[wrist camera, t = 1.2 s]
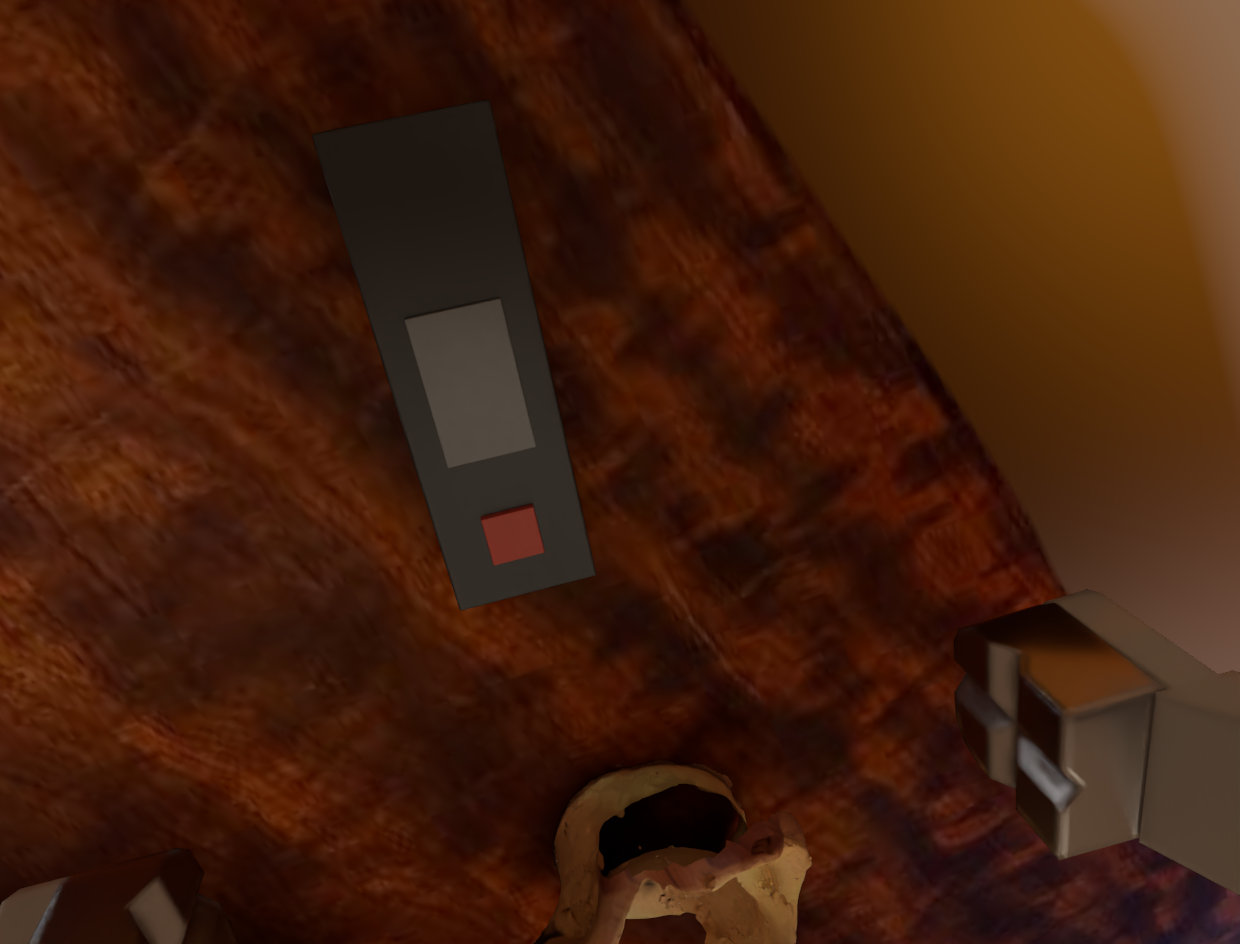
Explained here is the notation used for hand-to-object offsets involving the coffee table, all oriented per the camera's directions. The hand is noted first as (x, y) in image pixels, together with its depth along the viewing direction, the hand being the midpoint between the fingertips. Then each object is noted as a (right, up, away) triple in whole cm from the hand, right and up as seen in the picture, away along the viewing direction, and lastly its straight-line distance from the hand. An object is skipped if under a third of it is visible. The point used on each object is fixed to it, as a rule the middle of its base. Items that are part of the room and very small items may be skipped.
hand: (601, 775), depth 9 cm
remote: (-4, +7, +17) cm, 18 cm away
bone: (+1, -12, +26) cm, 28 cm away
